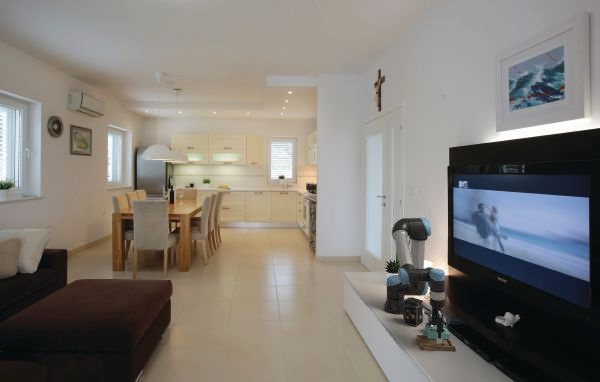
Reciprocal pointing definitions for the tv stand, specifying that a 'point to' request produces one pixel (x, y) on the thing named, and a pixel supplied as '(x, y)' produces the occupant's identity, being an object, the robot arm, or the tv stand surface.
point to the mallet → (429, 319)
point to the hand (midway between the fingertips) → (437, 340)
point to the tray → (431, 344)
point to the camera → (413, 311)
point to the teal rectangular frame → (432, 333)
